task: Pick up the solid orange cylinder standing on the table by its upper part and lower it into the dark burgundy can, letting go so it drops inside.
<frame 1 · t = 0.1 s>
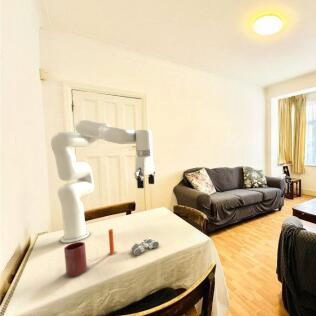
hand: (146, 185, 106), 31 cm above the table, tool pointing down, fingers open, 9 cm apart
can: (76, 271, 85), on the table
solid orange cylinder: (112, 253, 99), on the table
binoculars: (144, 248, 103), on the table
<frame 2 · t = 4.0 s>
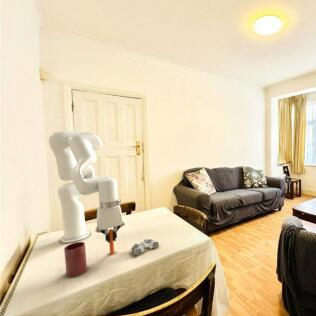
hand: (111, 240, 98), 7 cm above the table, tool pointing down, fingers closed on solid orange cylinder, 1 cm apart
solid orange cylinder: (112, 253, 99), on the table, touching gripper
everything else where it was.
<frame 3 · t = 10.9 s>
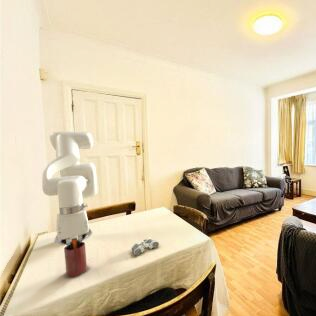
hand: (75, 251, 84), 9 cm above the table, tool pointing down, fingers closed on solid orange cylinder, 1 cm apart
solid orange cylinder: (76, 266, 85), point 2 cm above the table, touching gripper
everything else where it was.
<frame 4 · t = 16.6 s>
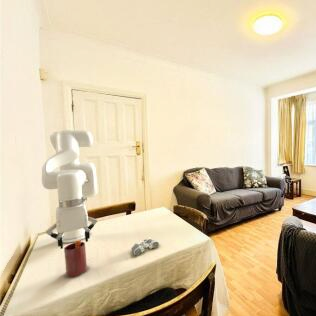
hand: (74, 243, 84), 12 cm above the table, tool pointing down, fingers open, 7 cm apart
solid orange cylinder: (76, 270, 85), point 1 cm above the table, tilted 11°, touching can
everything else where it was.
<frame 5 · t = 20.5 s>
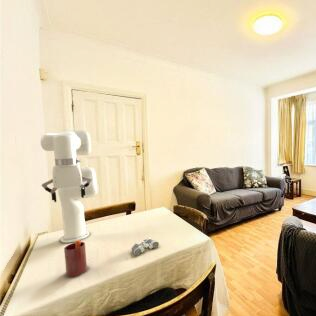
hand: (69, 199, 93), 28 cm above the table, tool pointing down, fingers open, 9 cm apart
nothing on the table moved.
at the end: solid orange cylinder 0.0 cm off-centre in the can, point 0.8 cm above the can's base; the gripper is holding nothing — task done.
